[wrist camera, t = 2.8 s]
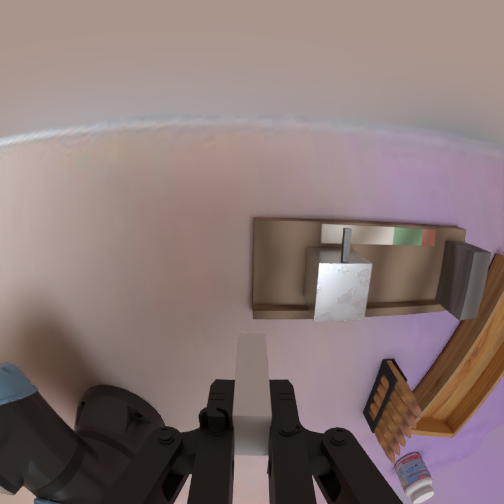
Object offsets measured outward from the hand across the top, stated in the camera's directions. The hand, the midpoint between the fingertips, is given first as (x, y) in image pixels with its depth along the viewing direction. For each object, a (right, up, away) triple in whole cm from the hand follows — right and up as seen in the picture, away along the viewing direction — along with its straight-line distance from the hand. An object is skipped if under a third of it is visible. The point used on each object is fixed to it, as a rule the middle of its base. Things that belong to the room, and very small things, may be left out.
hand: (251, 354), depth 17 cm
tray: (+37, -11, +22) cm, 44 cm away
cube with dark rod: (+8, +5, +15) cm, 18 cm away
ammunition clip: (+19, -14, +22) cm, 33 cm away
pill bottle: (+32, -38, +28) cm, 57 cm away
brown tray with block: (+14, +4, +18) cm, 23 cm away
